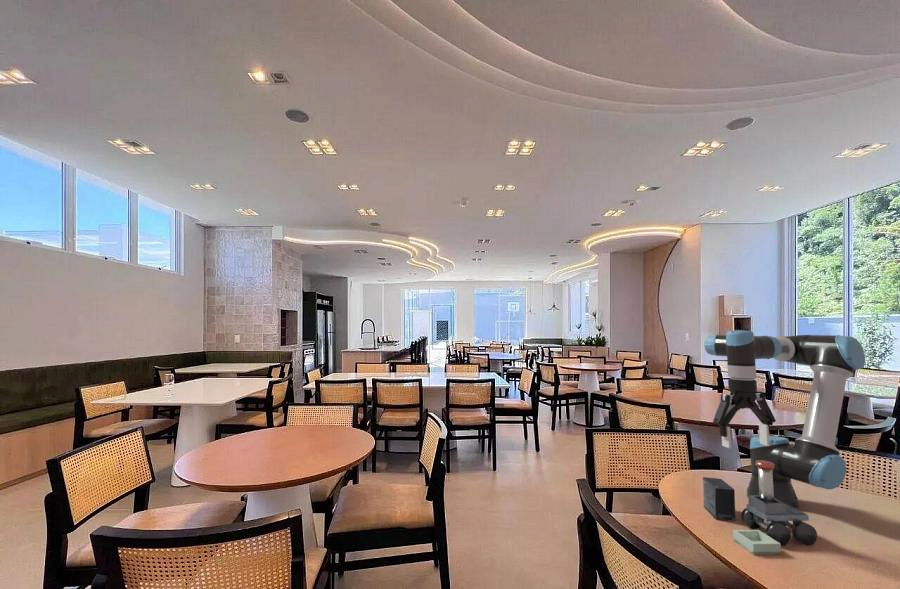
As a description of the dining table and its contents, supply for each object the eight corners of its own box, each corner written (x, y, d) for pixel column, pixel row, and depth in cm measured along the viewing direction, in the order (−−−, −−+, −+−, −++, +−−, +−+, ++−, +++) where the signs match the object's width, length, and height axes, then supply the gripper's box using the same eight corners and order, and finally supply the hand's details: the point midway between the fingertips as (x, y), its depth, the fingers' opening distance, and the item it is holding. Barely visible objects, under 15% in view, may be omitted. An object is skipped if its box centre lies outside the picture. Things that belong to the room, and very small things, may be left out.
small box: (737, 522, 136) (735, 489, 137) (715, 520, 138) (714, 487, 138) (723, 508, 147) (721, 477, 148) (702, 506, 148) (701, 476, 149)
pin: (768, 506, 130) (766, 460, 132) (781, 513, 126) (778, 465, 127) (753, 506, 130) (751, 460, 131) (765, 513, 126) (763, 465, 127)
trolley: (783, 525, 134) (781, 491, 135) (817, 545, 122) (815, 507, 123) (741, 526, 133) (740, 491, 134) (771, 546, 121) (769, 508, 122)
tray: (759, 540, 125) (758, 529, 125) (781, 554, 117) (780, 543, 117) (733, 540, 125) (732, 530, 125) (753, 555, 117) (753, 544, 117)
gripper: (765, 376, 138) (769, 440, 137) (698, 378, 135) (701, 444, 133) (786, 379, 131) (791, 447, 129) (716, 381, 127) (719, 451, 126)
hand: (745, 446), depth 131 cm, fingers open, 13 cm apart
